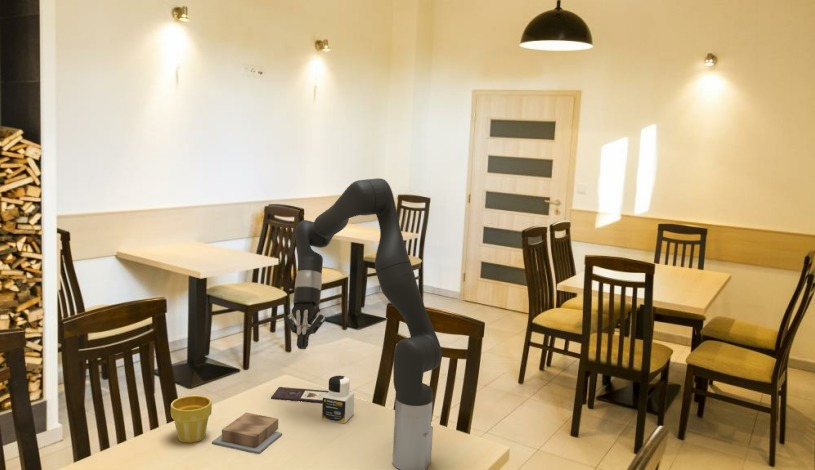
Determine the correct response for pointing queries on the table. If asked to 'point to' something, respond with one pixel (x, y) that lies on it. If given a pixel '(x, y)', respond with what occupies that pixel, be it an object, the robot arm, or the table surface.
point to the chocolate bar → (299, 395)
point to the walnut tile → (250, 429)
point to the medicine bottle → (338, 400)
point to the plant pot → (191, 417)
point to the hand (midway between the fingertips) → (302, 348)
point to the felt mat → (256, 450)
